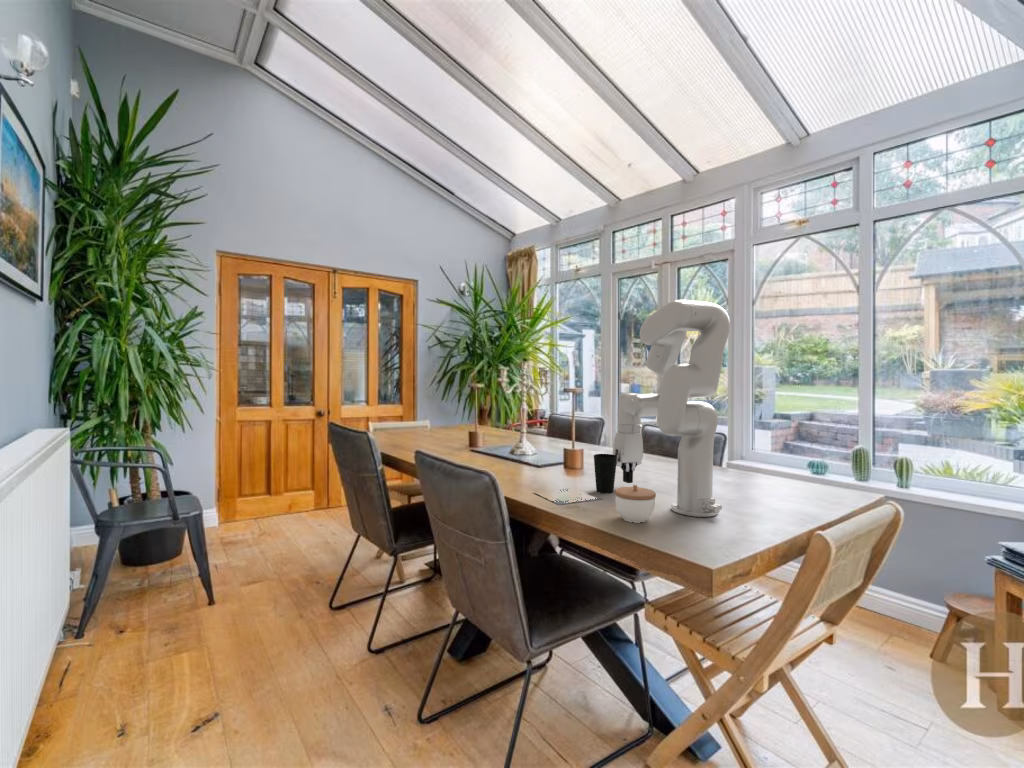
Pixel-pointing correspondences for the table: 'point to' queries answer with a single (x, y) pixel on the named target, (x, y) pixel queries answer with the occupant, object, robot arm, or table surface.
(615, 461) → the cup
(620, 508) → the lidded jar
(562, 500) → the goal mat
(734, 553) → the table surface
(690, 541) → the table surface
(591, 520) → the table surface
